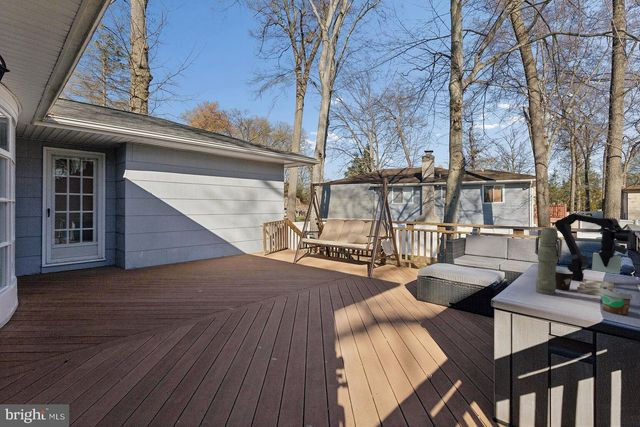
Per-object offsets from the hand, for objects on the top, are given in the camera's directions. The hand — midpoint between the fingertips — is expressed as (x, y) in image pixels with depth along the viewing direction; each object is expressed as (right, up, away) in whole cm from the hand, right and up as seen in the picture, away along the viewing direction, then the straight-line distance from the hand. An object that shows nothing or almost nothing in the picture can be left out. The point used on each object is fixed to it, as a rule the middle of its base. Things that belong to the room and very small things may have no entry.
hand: (606, 266), depth 186 cm
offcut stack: (-16, -13, -10) cm, 23 cm away
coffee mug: (-31, -12, -5) cm, 34 cm away
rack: (-10, -12, -5) cm, 17 cm away
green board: (0, -3, 0) cm, 3 cm away
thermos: (-44, -12, -12) cm, 47 cm away
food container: (-33, -14, -40) cm, 54 cm away
